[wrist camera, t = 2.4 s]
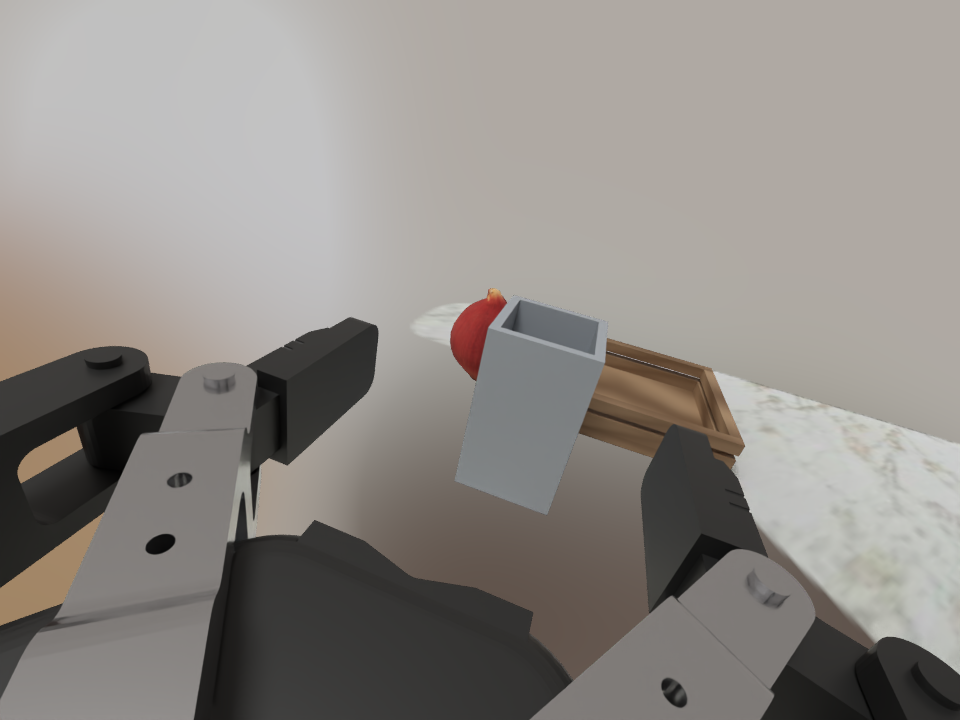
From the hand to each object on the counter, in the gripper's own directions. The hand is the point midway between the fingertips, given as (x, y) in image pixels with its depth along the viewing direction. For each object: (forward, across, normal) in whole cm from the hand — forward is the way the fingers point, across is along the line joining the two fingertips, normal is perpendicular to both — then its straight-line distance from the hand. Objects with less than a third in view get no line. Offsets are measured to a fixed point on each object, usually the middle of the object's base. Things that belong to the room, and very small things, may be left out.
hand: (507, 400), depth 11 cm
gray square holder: (+12, 0, +12) cm, 17 cm away
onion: (+20, +4, +12) cm, 24 cm away
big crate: (+24, -8, +12) cm, 28 cm away
